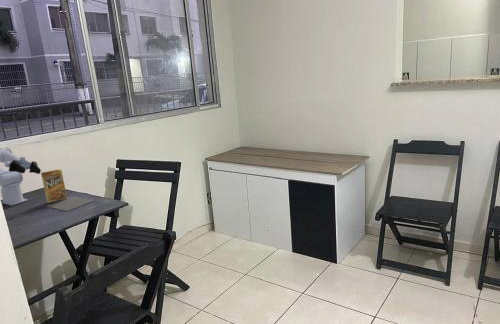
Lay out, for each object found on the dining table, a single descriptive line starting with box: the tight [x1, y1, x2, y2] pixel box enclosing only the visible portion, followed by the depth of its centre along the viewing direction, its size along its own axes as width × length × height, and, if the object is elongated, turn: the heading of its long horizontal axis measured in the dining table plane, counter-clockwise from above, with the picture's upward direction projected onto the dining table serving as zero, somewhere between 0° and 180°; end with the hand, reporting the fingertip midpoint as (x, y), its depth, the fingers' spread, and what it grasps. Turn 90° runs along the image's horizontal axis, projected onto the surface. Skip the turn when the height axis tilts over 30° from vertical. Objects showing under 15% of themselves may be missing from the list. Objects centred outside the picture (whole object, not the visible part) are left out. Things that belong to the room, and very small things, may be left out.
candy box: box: [40, 168, 68, 204], centre depth 182 cm, size 9×4×15 cm, turn 126°
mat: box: [46, 195, 96, 212], centre depth 177 cm, size 16×15×1 cm
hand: (32, 171), depth 170 cm, fingers open, 7 cm apart
